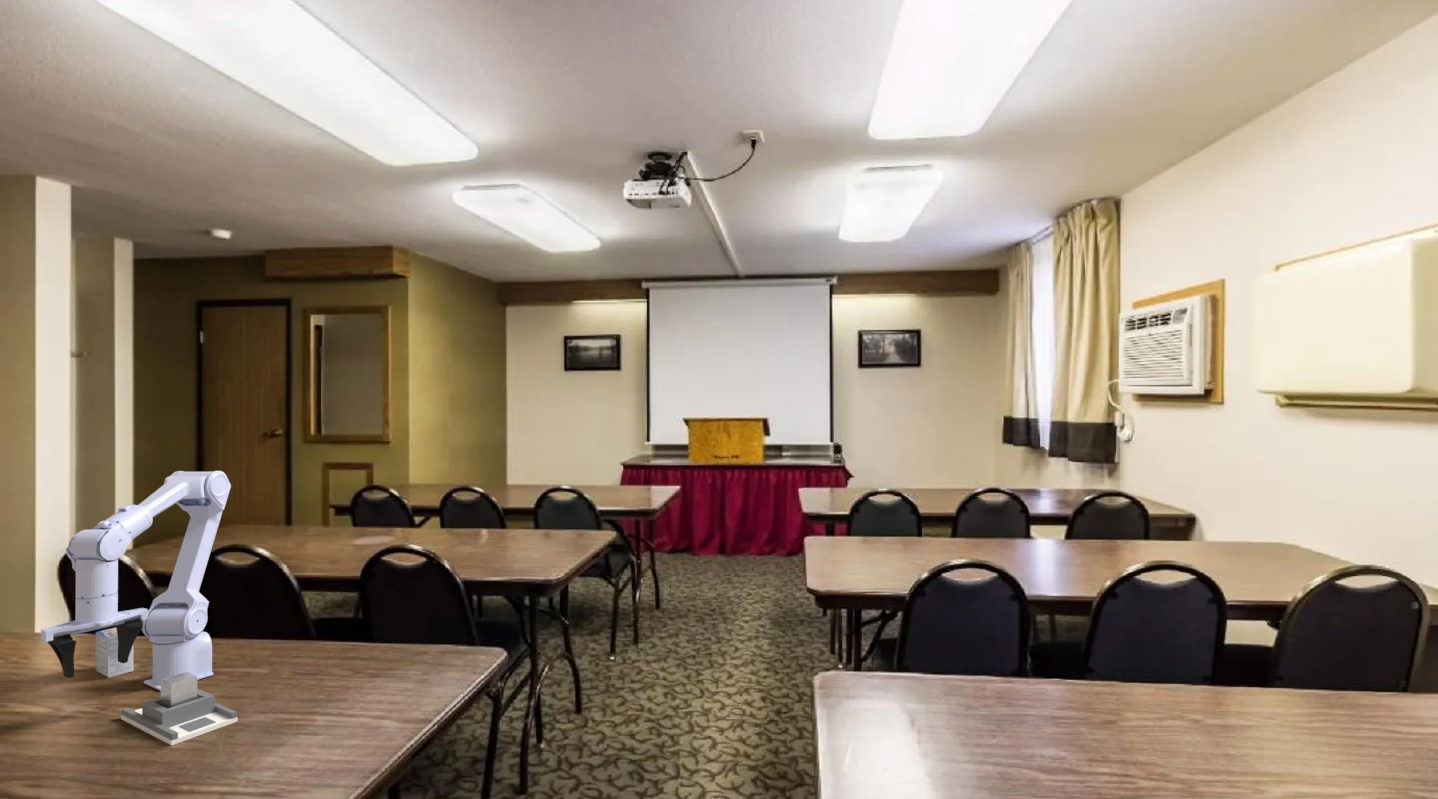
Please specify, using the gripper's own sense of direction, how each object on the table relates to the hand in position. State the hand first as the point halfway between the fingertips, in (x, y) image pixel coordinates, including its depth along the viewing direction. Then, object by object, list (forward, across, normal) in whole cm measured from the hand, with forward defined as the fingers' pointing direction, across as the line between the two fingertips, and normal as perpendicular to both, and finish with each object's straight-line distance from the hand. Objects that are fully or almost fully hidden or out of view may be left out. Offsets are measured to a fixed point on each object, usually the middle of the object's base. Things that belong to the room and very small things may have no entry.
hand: (96, 669), depth 123 cm
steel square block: (+9, +7, -13) cm, 17 cm away
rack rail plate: (+9, +7, -13) cm, 18 cm away
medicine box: (+10, +12, +26) cm, 31 cm away
